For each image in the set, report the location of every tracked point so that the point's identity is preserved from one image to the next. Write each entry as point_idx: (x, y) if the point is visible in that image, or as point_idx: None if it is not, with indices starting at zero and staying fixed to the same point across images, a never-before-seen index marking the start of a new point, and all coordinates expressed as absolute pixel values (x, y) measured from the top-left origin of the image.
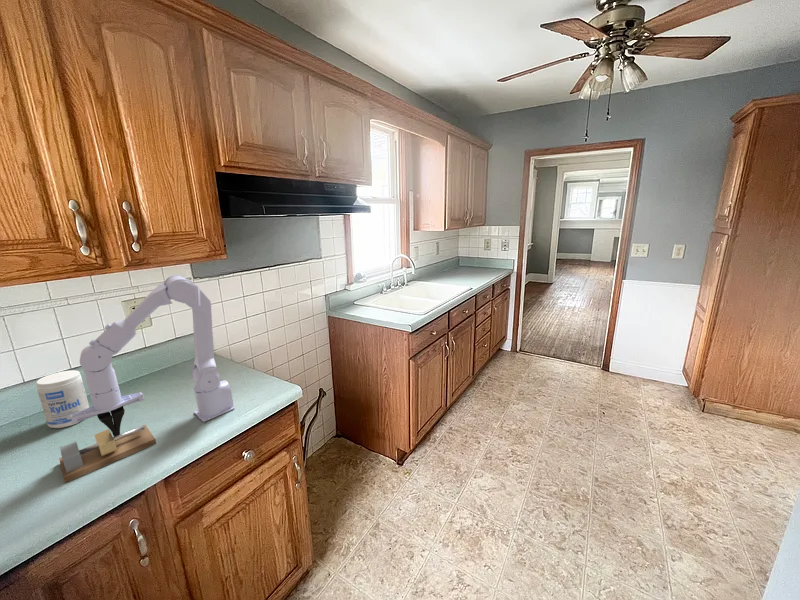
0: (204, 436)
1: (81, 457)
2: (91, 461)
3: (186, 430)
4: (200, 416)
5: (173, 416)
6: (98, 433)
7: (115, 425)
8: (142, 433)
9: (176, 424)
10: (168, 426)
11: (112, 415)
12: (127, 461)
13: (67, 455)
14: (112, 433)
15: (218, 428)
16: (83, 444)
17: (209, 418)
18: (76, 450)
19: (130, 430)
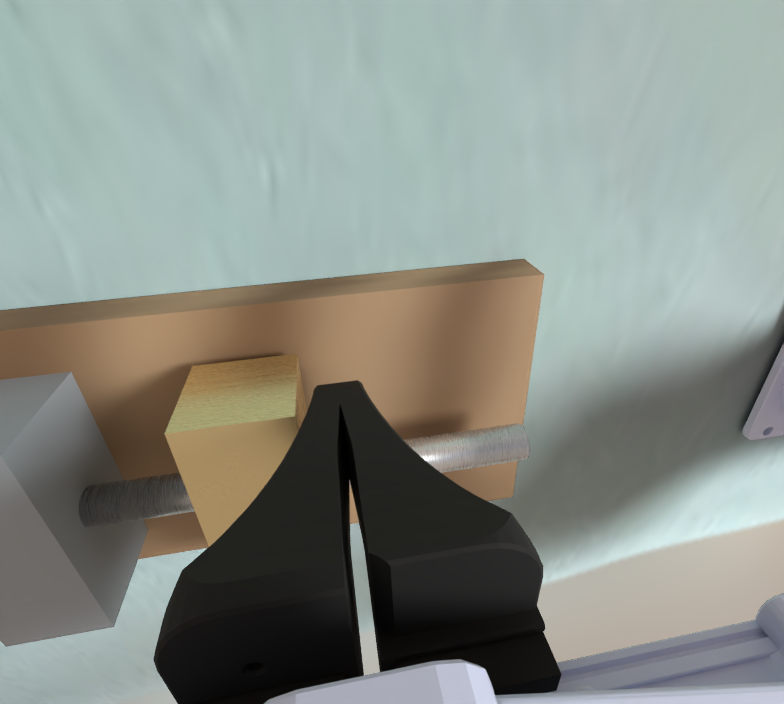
0: (654, 535)
1: (106, 440)
2: (186, 513)
3: (648, 447)
4: (779, 385)
5: (723, 209)
6: (204, 438)
7: (362, 536)
8: (484, 396)
9: (661, 348)
10: (623, 337)
11: (374, 622)
12: (356, 531)
13: (15, 609)
14: (314, 392)
15: (723, 515)
16: (36, 97)
17: (777, 435)
18: (69, 586)
19: (438, 464)
